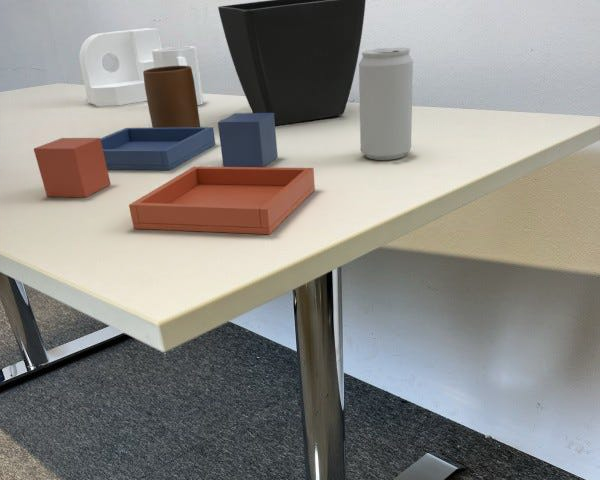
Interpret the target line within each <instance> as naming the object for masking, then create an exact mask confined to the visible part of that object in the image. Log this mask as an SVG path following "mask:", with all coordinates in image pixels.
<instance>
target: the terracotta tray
mask: <svg viewBox="0 0 600 480" xmlns="http://www.w3.org/2000/svg"><path fill="white" fill-rule="evenodd" d="M315 190H316V184H315V170H314V167H277V166H276V167H273V166H272V167H266V166H265V167H223V166H192V167H190V168H189V169H187V170H185V171H183V172H182V173H180V174H179V175H177V176H175V177H173V178H172V179H170V180H168V181H166V182H165V183H163V184H161V185H159V186H158V187H157V188H155V189H153V190H152V191H150V192H148V193H147V194H144V195H143V196H141V197H140V198H138V199H136V200H135V201H133V202H131V203H129V204H128V207H129V212H130V218H131V222H132V226H133V229H136V230H160V231H162V230H163V231H180V232H181V231H183V232H185V231H186V232H204V233H205V232H206V233H228V234H229V233H230V234H253V235H254V234H255V235H271V234H272V233H273V232H274V231H275V230H276V229H277V228H278V227H279V226H280V225H281V224H282V223H283V222H284V221H285V220H286V219H287V218H288V217H289V216H290V215H291V214H292V213H293V212H294V211H295V210H296V209H297V208H298V207H299V206H300V205H301V204H302V203H303V202H304V201H305V200H306V199H307V198H308V197H309V196H310V195H311V194H312V193H313V192H314V191H315Z"/></svg>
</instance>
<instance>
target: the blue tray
mask: <svg viewBox="0 0 600 480" xmlns="http://www.w3.org/2000/svg"><path fill="white" fill-rule="evenodd" d="M215 136H216V135H215V129H214V127H213V126H200V127H163V128H152V127H125V128H122V129H120V130H118V131H115V132H113V133H110V134H108V135H105V136H103V137H99V138H100V139H101V144H102V148H103V153H104V157H105V162H106V166H107V170H130V171H131V170H132V171H133V170H134V171H135V170H139V171H141V170H142V171H171V170H172V169H174V168H177V167H178V166H180V165H181V164H183V163H185V162H186V161H189V160H190V159H192V158H193V157H195V156H197V155H199V154H201V153H202V152H204V151H206V150H208V149H209V148H211V147H213V146H215V145H216V138H215Z"/></svg>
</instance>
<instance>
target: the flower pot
mask: <svg viewBox="0 0 600 480" xmlns="http://www.w3.org/2000/svg"><path fill="white" fill-rule="evenodd" d="M366 2H367V1H366V0H260V1H253V2H245V3H237V4H236V3H235V4H228V5H219V6H218V7H217V8H218V13H219V18H220V22H221V25H222V26H221V27H222V29H223V33H224V38H225V41H226V44H227V47H228V51H229V54H230V58H231V60H232V64H233V66H234V69H235V72H236V75H237V78H238V80H239V83H240V86H241V88H242V91H243V93H244V96H245V98H246V101H247V103H248V106H249V108H250V111H251V113H274V119H275V126H279V125H284V124H285V125H286V124H292V123H299V122H306V121H312V120H317V119H318V120H319V119H324V118H330V117H331V118H332V117H337V116H341V115H342V116H343V115H344V113H345V112H346V111H345V110H346V108H347V104H348V101H349V98H350V95H351V90H352V87H353V82H354V78H355V73H356V69H357V64H358V59H359V55H360V49H361V42H362V36H363V29H364V28H363V27H364V22H365V21H364V20H365V11H366Z"/></svg>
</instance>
